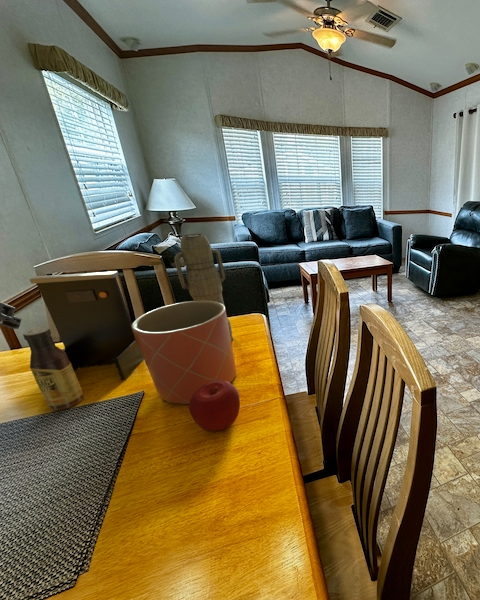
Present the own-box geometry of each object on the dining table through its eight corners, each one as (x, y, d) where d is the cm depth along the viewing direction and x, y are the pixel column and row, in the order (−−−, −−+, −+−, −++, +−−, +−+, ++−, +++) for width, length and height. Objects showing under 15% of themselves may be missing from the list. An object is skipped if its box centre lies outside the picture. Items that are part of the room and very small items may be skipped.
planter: (196, 415, 75) (172, 339, 67) (137, 398, 81) (110, 326, 73) (255, 370, 92) (241, 305, 84) (203, 359, 97) (186, 296, 90)
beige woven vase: (243, 339, 109) (221, 233, 95) (205, 353, 100) (175, 240, 87) (231, 331, 114) (208, 230, 101) (194, 344, 105) (164, 236, 92)
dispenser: (76, 366, 94) (36, 276, 84) (147, 357, 98) (117, 271, 88) (46, 390, 84) (-4, 291, 73) (127, 380, 88) (91, 284, 78)
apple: (193, 446, 67) (180, 407, 63) (200, 415, 75) (189, 379, 71) (243, 433, 70) (234, 395, 66) (245, 405, 78) (237, 370, 74)
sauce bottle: (42, 409, 77) (4, 335, 70) (73, 393, 83) (40, 322, 75) (63, 414, 76) (26, 338, 68) (92, 397, 81) (61, 325, 74)
